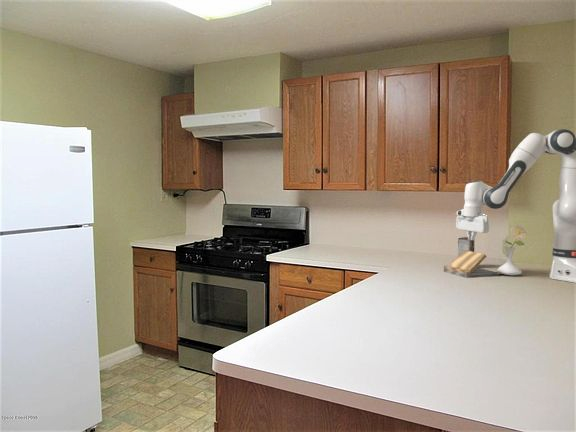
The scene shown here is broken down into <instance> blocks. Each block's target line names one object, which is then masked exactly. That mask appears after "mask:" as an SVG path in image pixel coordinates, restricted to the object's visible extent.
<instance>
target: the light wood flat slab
mask: <svg viewBox="0 0 576 432" xmlns="http://www.w3.org/2000/svg"><path fill="white" fill-rule="evenodd" d="M486 258H487V254H485V253H480V252H476V251H474V252H470V251H465V250H464V251H463V252H462V253H461V254H460V255H459V256H458V255H457V257H456V258H455V259H454V260H453V261H452V263H450V264H449V266H451V267H455V268H460V269H464V270H468V271H470V273H471V272H472V271H473V270H474V269H475V268H478V266H479V265H480V264H481V263H482V262H483V261H484V260H485V259H486Z"/></svg>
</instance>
